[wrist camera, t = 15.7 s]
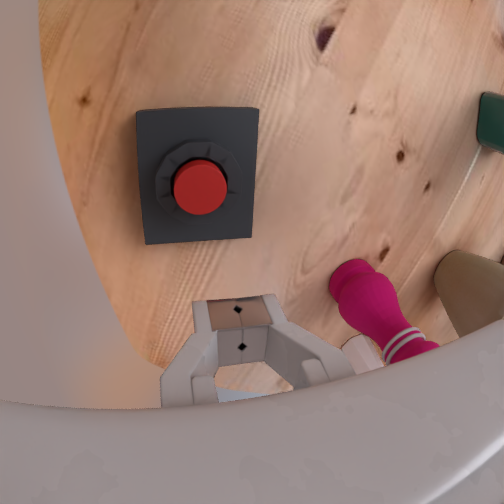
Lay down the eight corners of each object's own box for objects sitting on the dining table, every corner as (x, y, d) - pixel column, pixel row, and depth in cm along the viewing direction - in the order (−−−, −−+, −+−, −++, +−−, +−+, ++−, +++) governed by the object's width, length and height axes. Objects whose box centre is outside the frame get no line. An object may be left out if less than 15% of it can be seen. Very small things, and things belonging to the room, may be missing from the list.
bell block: (246, 227, 31) (256, 247, 28) (147, 234, 29) (143, 255, 25) (253, 107, 25) (265, 110, 22) (139, 110, 23) (132, 113, 19)
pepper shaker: (347, 334, 44) (381, 388, 35) (374, 332, 46) (408, 381, 36) (335, 358, 47) (363, 410, 37) (360, 354, 48) (390, 403, 39)
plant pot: (403, 308, 45) (459, 377, 31) (438, 226, 38) (517, 289, 24) (454, 300, 49) (503, 353, 35) (485, 232, 42) (547, 281, 28)
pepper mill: (374, 248, 36) (479, 359, 20) (371, 290, 40) (455, 398, 24) (323, 265, 36) (419, 399, 19) (326, 308, 40) (401, 431, 23)
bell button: (223, 205, 25) (226, 213, 24) (174, 208, 24) (174, 216, 23) (224, 158, 23) (227, 163, 22) (173, 160, 22) (172, 165, 21)
